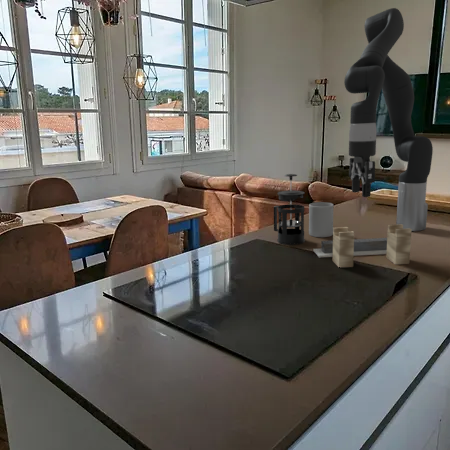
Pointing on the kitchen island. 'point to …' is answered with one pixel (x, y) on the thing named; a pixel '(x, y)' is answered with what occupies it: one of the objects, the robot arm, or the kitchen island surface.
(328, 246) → the rail
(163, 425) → the kitchen island surface
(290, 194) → the french press
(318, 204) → the mug
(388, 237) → the post
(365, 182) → the robot arm
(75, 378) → the kitchen island surface
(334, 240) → the post
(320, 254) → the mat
